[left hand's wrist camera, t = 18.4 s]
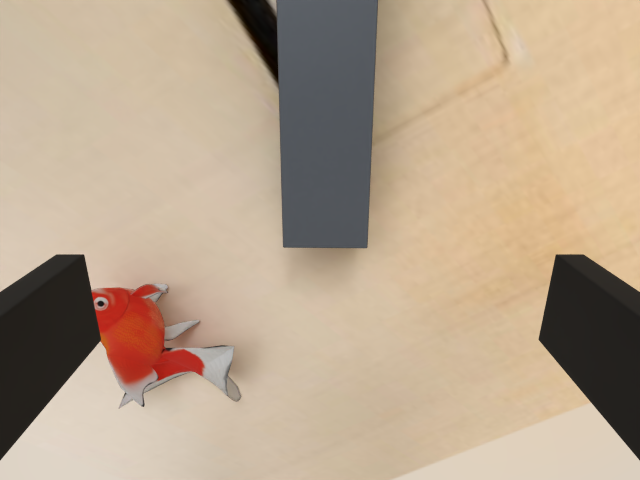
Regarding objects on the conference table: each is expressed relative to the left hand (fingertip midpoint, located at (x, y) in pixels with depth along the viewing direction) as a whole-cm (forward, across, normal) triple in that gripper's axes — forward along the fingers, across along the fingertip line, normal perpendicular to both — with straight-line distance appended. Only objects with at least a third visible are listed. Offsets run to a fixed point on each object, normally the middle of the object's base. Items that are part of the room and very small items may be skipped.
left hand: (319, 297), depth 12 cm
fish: (+23, +12, +15) cm, 30 cm away
